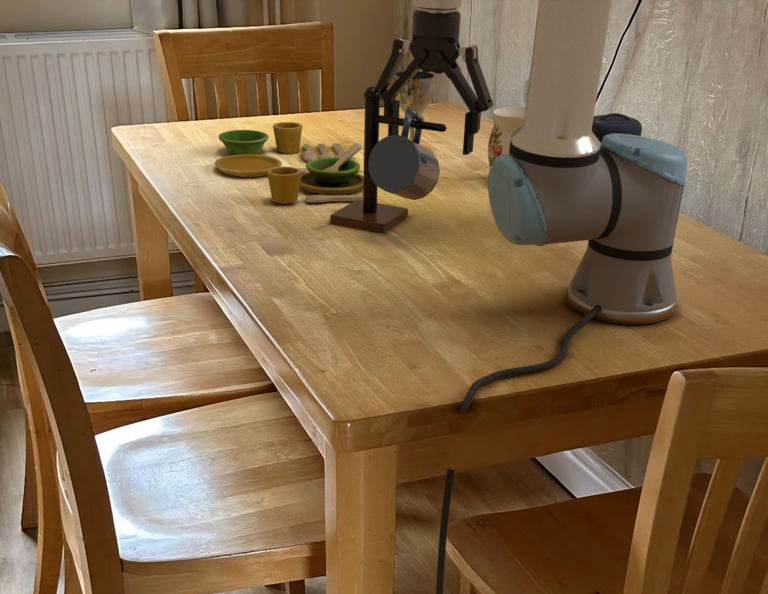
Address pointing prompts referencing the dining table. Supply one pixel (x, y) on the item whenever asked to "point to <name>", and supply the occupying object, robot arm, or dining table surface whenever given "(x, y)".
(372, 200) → the cup holder
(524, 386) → the dining table surface
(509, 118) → the pitcher
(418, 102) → the wine glass
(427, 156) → the mug
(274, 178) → the tableware set
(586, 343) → the dining table surface
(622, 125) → the canister
